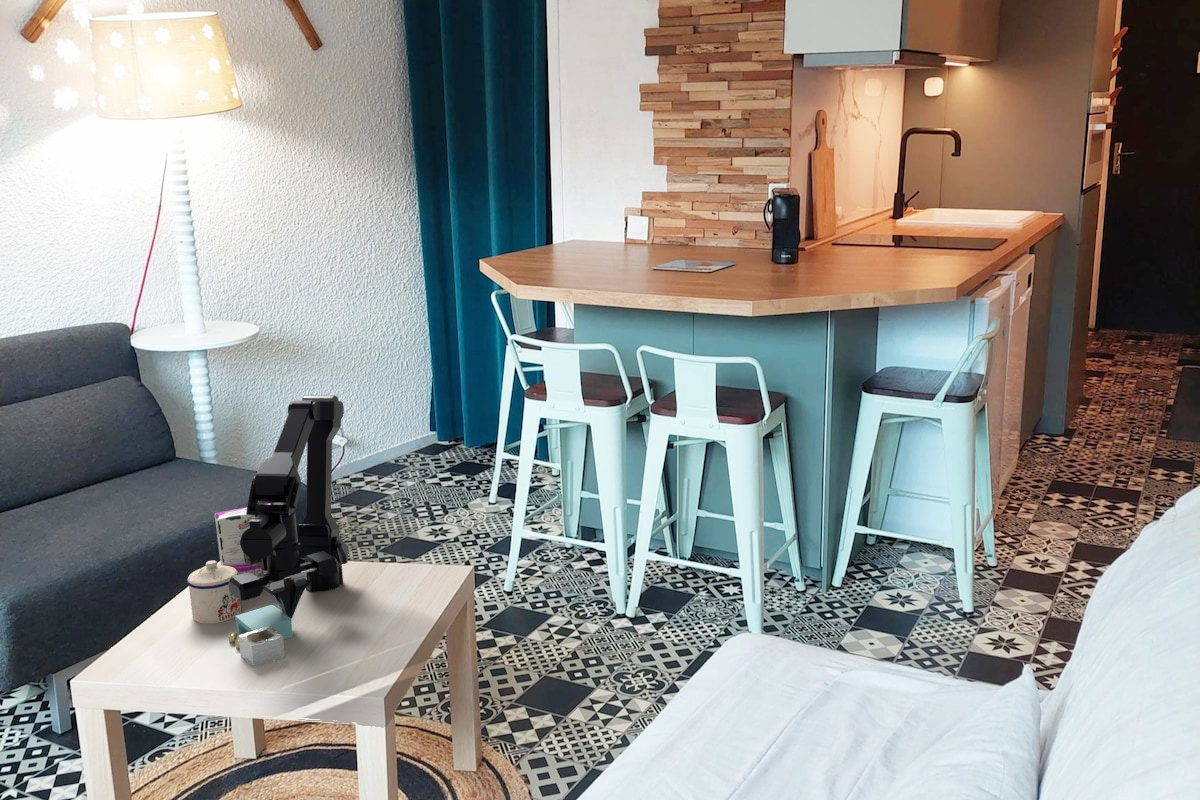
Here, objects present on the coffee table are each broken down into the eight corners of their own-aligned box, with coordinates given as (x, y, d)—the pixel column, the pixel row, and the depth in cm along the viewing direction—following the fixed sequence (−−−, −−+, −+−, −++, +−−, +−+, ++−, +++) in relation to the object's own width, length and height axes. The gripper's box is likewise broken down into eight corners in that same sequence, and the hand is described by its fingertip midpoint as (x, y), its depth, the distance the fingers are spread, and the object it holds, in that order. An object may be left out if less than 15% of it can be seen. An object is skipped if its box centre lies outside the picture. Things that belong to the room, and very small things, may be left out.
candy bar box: (278, 577, 225) (271, 501, 221) (283, 586, 221) (276, 509, 217) (222, 588, 220) (213, 511, 216) (226, 597, 216) (217, 519, 212)
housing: (273, 622, 202) (272, 604, 201) (292, 636, 196) (291, 618, 195) (237, 633, 197) (235, 615, 197) (255, 649, 191) (253, 630, 191)
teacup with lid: (226, 632, 201) (220, 573, 198) (182, 628, 203) (175, 569, 200) (259, 604, 212) (253, 548, 210) (217, 601, 214) (211, 545, 212)
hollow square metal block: (271, 646, 193) (269, 625, 192) (285, 657, 188) (283, 636, 187) (240, 656, 189) (238, 635, 188) (253, 668, 185) (251, 646, 184)
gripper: (308, 514, 207) (315, 590, 211) (212, 539, 195) (221, 619, 199) (336, 529, 199) (343, 608, 203) (237, 556, 187) (246, 640, 191)
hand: (288, 618), depth 199 cm, fingers closed
